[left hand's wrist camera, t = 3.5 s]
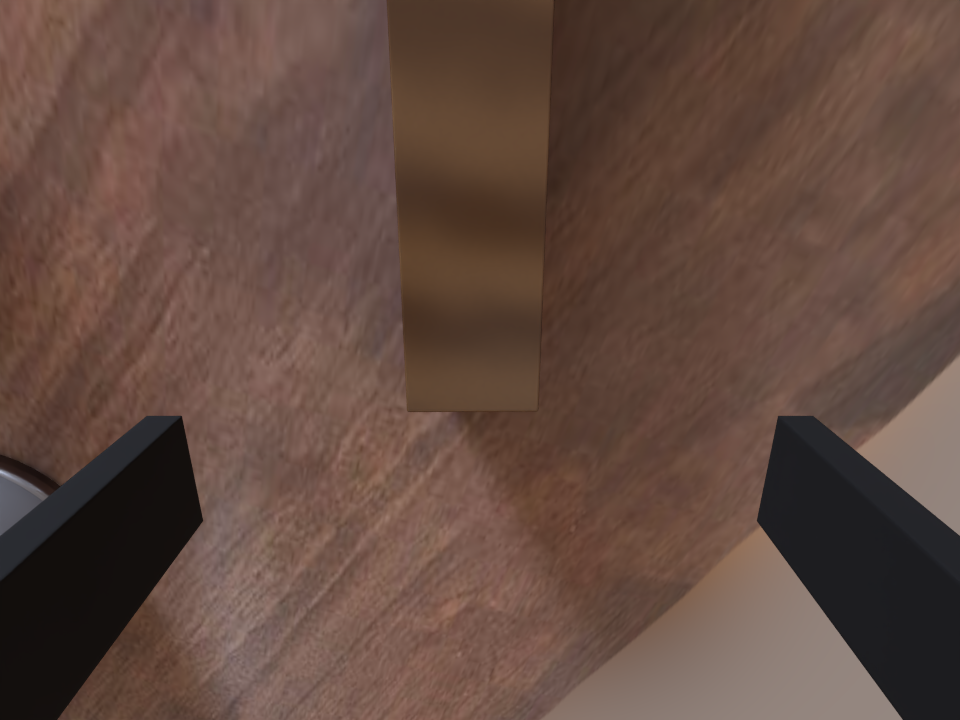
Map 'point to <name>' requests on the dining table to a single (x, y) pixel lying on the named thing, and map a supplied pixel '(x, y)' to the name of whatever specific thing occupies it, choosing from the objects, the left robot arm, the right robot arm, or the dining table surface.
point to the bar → (471, 197)
